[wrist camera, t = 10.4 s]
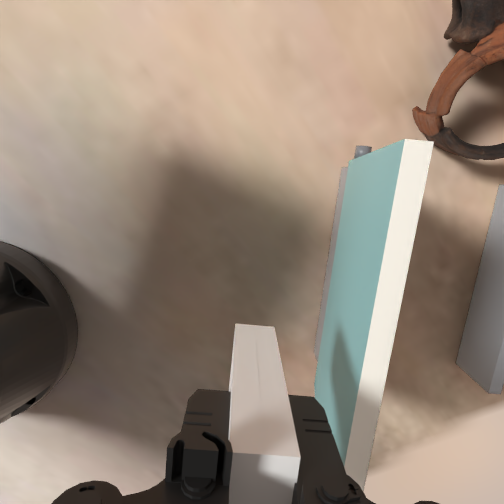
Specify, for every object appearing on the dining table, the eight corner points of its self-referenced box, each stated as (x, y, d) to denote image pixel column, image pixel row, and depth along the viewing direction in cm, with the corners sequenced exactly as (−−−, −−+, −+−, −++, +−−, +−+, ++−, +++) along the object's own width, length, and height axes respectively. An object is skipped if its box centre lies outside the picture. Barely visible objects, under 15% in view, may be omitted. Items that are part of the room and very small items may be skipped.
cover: (324, 385, 28) (314, 383, 28) (361, 162, 24) (348, 161, 24) (342, 592, 14) (321, 587, 14) (433, 141, 10) (404, 138, 11)
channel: (306, 364, 33) (317, 400, 28) (338, 149, 29) (358, 145, 24) (463, 377, 33) (502, 414, 28) (515, 169, 29) (572, 169, 24)
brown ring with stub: (553, 91, 29) (606, 131, 23) (427, 147, 34) (444, 193, 27) (514, -77, 24) (571, -84, 17) (372, 19, 28) (377, 40, 22)
